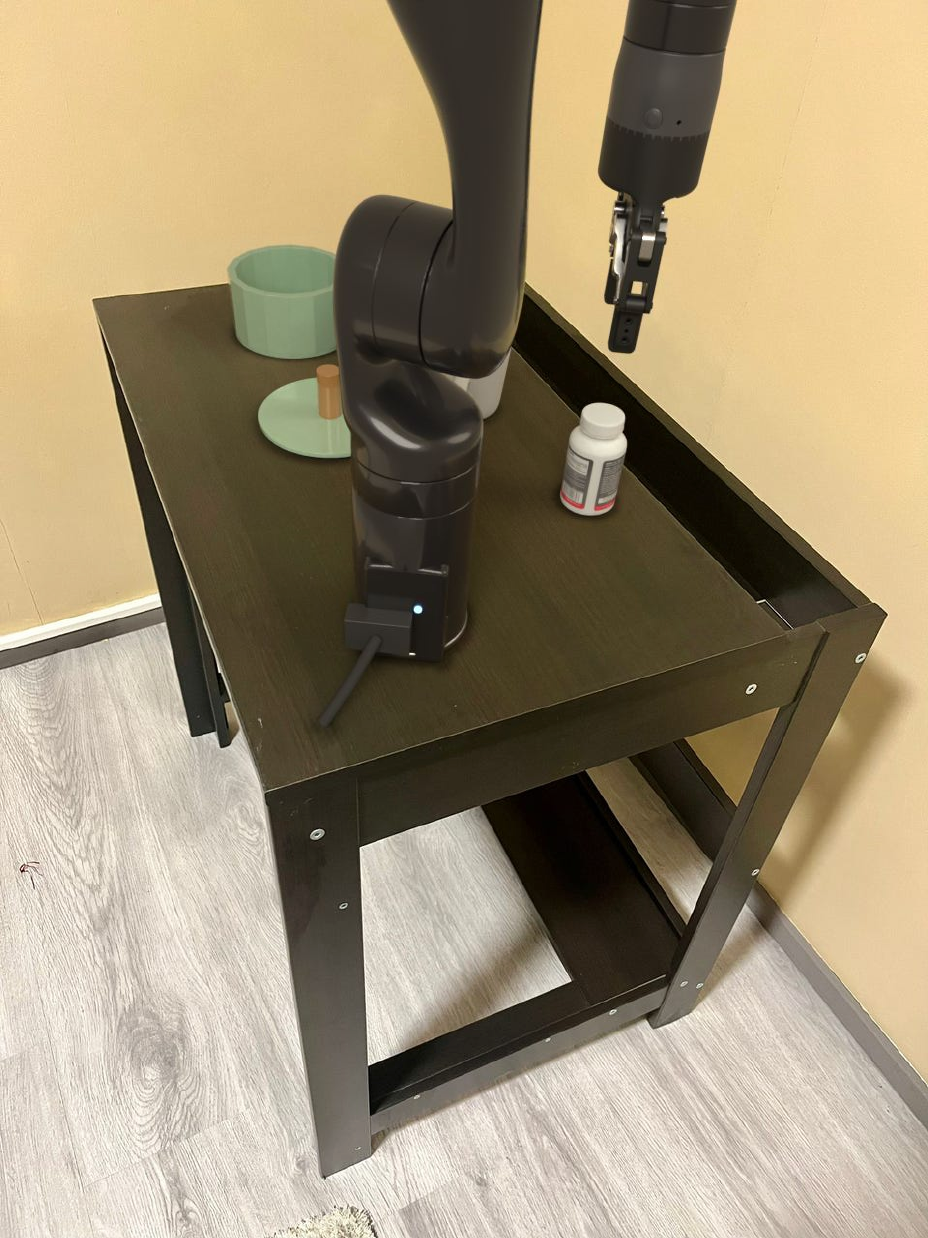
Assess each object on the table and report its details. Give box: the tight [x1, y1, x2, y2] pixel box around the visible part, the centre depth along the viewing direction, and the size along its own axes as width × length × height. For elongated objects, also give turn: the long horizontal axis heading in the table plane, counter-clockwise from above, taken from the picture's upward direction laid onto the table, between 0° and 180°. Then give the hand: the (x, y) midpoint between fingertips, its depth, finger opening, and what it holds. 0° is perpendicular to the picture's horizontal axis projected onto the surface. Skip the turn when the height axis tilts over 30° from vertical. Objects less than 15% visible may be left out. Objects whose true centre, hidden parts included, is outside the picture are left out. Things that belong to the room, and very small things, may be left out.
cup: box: [443, 347, 512, 420], centre depth 95 cm, size 11×8×8 cm
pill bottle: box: [559, 402, 628, 517], centre depth 85 cm, size 5×5×10 cm
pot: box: [226, 244, 337, 360], centre depth 106 cm, size 14×14×8 cm
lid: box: [257, 363, 351, 459], centre depth 93 cm, size 15×15×6 cm
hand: (618, 325), depth 76 cm, fingers open, 8 cm apart
